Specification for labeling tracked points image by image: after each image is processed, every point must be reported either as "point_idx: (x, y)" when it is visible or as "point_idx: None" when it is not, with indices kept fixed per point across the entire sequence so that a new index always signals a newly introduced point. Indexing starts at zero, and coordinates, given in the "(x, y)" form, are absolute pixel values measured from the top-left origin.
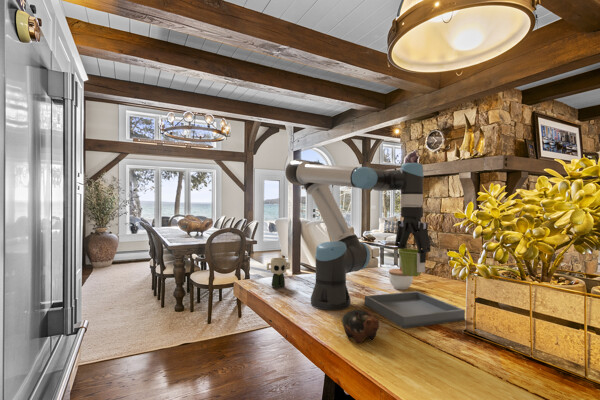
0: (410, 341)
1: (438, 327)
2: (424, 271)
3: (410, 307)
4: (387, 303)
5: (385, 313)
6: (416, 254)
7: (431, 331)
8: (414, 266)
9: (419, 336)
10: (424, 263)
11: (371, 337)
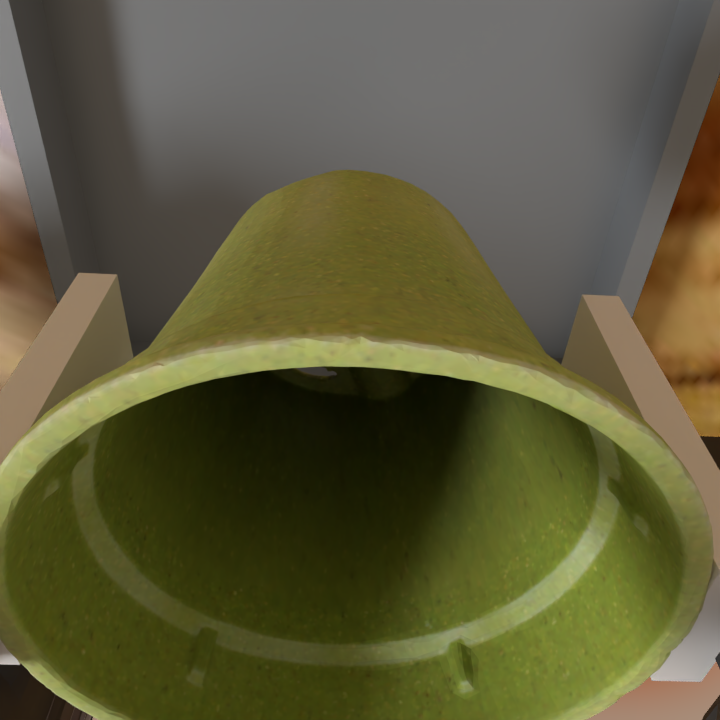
0: (714, 425)
1: (704, 148)
2: (618, 308)
3: (302, 85)
4: (146, 212)
5: None
6: (610, 636)
7: (712, 246)
8: (503, 441)
9: (708, 354)
10: (669, 398)
11: None
